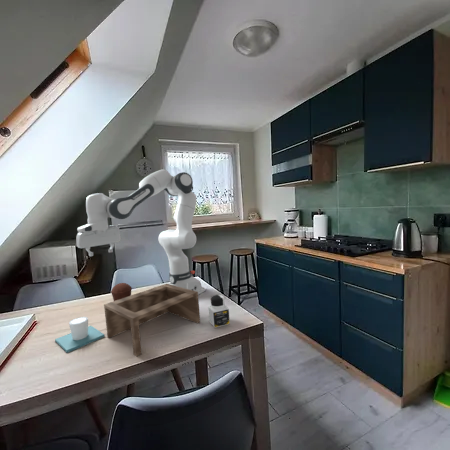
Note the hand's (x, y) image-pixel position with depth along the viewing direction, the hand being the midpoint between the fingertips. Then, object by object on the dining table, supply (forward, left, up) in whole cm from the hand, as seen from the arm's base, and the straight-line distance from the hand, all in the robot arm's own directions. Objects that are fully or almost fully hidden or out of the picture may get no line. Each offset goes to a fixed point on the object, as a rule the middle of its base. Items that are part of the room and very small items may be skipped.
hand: (101, 254), depth 125 cm
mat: (+18, +15, -31) cm, 39 cm away
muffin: (-14, -12, -31) cm, 36 cm away
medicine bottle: (-25, +54, -31) cm, 67 cm away
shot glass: (+18, +15, -30) cm, 38 cm away
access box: (-5, +35, -31) cm, 47 cm away
